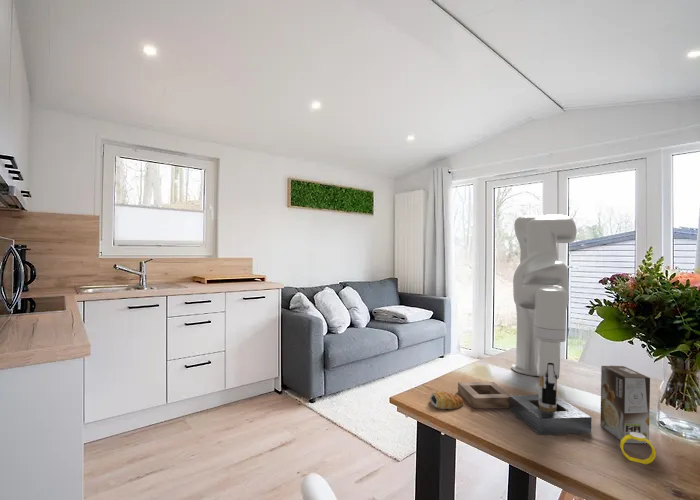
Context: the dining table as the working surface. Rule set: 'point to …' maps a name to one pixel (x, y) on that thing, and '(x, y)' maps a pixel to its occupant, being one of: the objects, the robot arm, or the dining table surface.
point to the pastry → (446, 400)
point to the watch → (640, 438)
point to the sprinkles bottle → (542, 406)
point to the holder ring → (484, 394)
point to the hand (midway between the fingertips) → (547, 399)
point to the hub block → (550, 416)
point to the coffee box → (625, 402)
